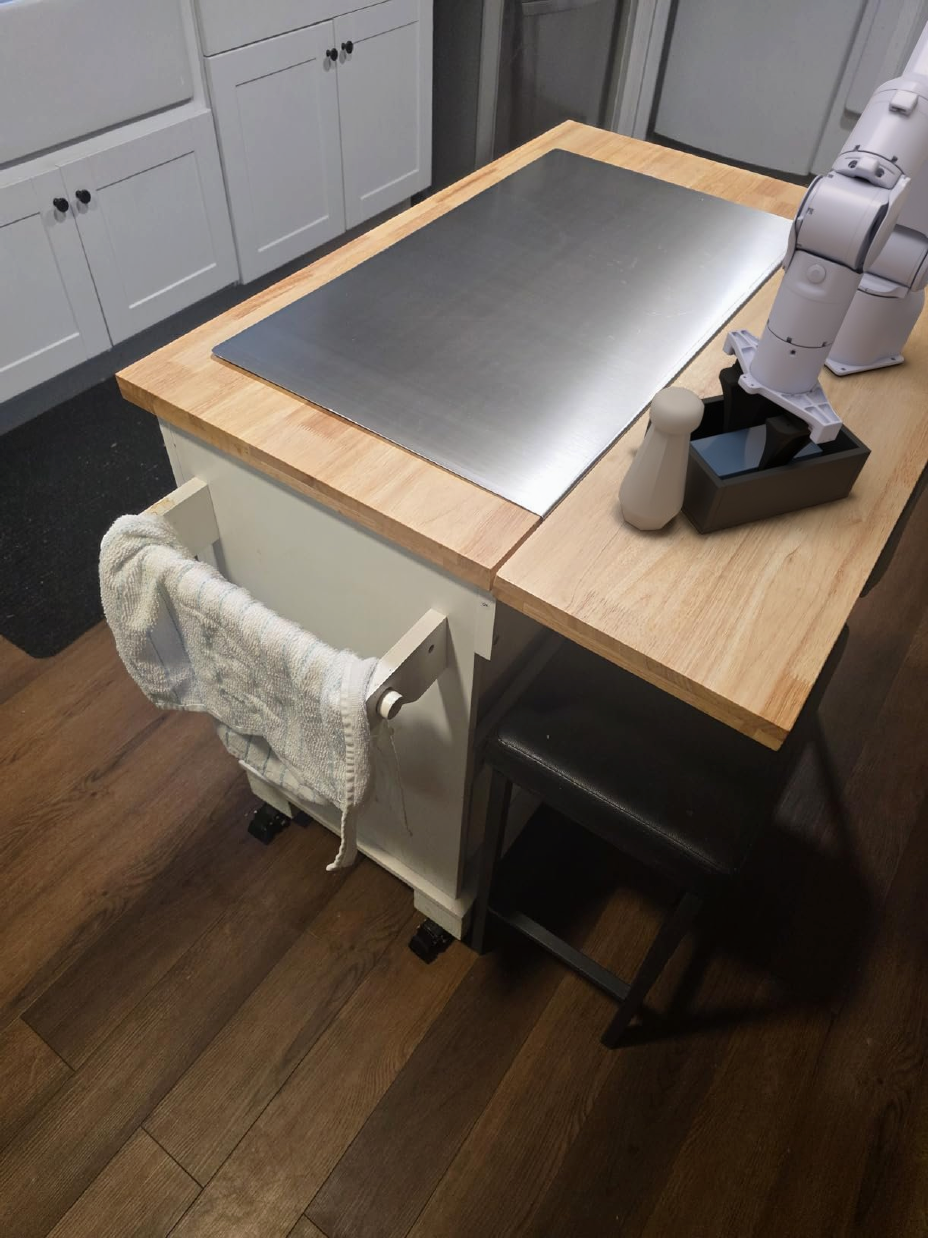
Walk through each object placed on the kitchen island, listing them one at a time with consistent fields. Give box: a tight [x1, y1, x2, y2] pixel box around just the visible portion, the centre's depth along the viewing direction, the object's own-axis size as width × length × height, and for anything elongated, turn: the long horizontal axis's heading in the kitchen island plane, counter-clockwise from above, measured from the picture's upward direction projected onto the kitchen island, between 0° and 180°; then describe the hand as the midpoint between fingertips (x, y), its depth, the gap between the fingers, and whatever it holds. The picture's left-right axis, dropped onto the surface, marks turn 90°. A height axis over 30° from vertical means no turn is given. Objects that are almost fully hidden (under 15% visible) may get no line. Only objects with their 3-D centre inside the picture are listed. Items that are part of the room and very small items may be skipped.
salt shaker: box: [617, 385, 704, 531], centre depth 75 cm, size 6×6×13 cm
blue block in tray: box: [690, 424, 823, 481], centre depth 83 cm, size 5×12×3 cm, turn 112°
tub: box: [643, 393, 873, 535], centre depth 83 cm, size 17×12×6 cm
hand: (749, 457), depth 83 cm, fingers closed on blue block in tray, 5 cm apart
